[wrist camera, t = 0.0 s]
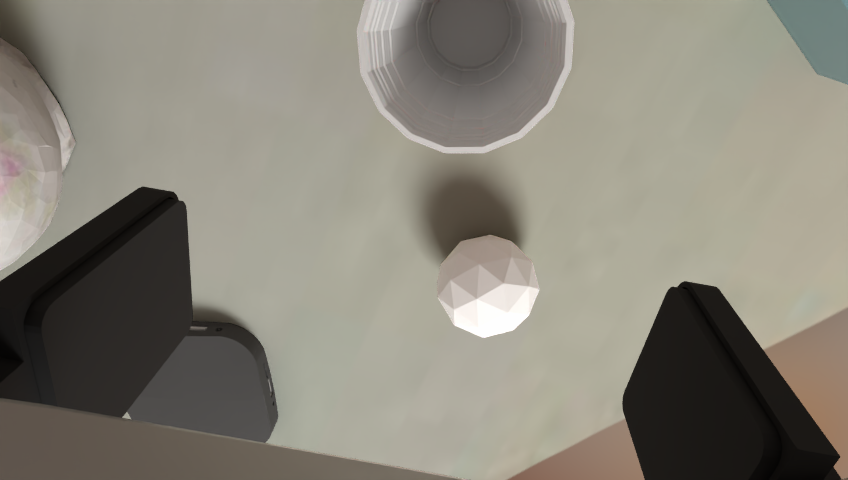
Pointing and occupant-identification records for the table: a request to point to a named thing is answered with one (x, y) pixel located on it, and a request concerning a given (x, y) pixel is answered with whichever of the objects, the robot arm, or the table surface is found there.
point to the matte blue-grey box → (818, 33)
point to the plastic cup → (465, 67)
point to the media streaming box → (213, 385)
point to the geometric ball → (487, 285)
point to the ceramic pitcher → (28, 154)
